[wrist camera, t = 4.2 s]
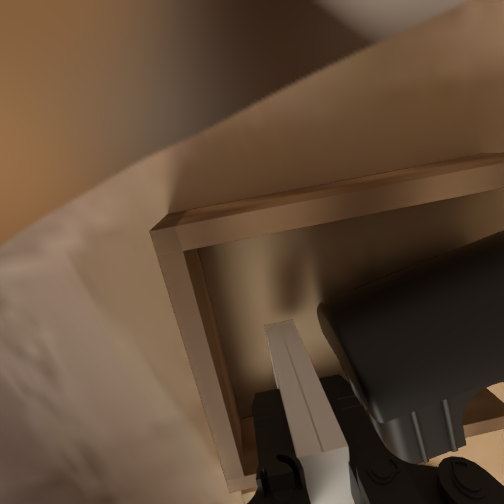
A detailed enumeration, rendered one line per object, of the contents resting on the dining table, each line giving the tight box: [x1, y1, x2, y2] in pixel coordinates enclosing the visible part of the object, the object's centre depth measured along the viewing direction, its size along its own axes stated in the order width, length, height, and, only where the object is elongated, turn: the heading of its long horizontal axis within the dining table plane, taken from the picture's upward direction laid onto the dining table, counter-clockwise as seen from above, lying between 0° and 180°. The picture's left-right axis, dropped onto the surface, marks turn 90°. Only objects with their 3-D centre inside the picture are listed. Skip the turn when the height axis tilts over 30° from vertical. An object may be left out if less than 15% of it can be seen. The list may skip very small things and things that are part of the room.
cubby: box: [149, 153, 504, 493], centre depth 15 cm, size 16×15×4 cm
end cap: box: [317, 231, 504, 464], centre depth 13 cm, size 10×7×7 cm
